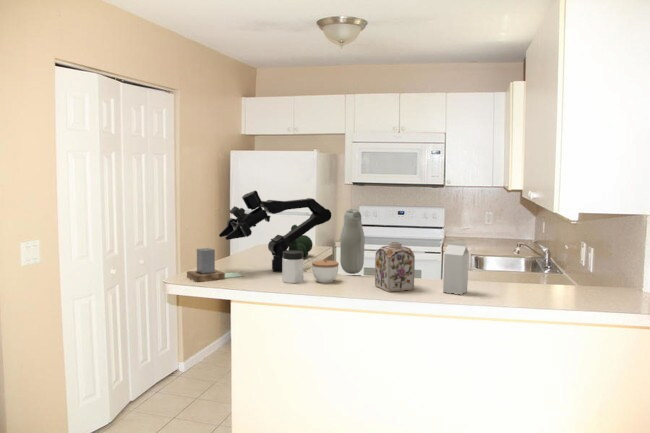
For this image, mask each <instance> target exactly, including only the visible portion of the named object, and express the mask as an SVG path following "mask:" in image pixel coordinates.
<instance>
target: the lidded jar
mask: <svg viewBox="0 0 650 433" xmlns="http://www.w3.org/2000/svg"><path fill="white" fill-rule="evenodd" d="M311 265H312V267H311V268H312V274H313V276H314V278H315V280H317V282H318V283H321V284H323V283H324V284H329V283H333V281H335V279H336V278H337V276H338V272H339V262H338V261H336V260H328V259H327V258H323V259H322V260H314V261H312V263H311Z"/></svg>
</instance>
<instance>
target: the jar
mask: <svg viewBox="0 0 650 433" xmlns="http://www.w3.org/2000/svg"><path fill="white" fill-rule="evenodd" d="M288 250H289V249H288ZM281 273H282V274H281V276H282V277H281V278H282V279H281V280H282V281H283V283H286V284H287V283H289V284H298V283H303V282H304V258H303V252H302V251H296V250H289V251H284V252H283V258H282V271H281Z"/></svg>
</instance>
